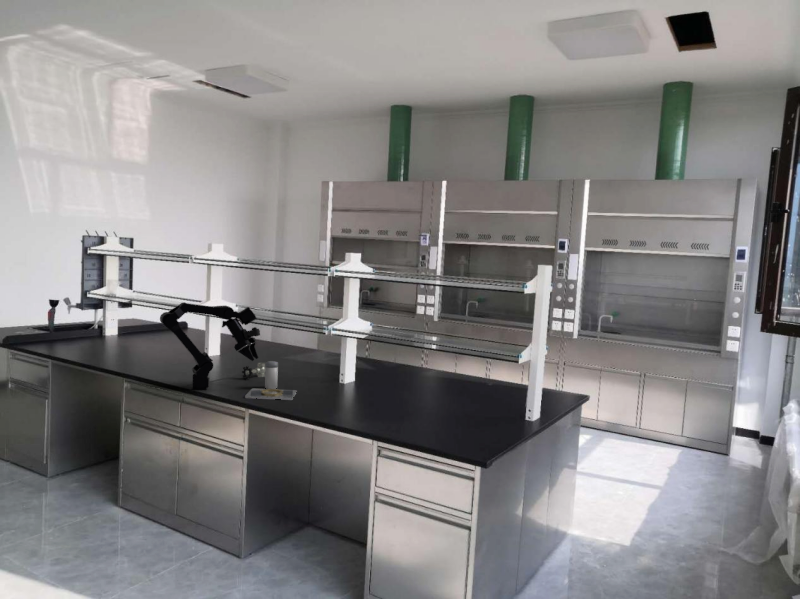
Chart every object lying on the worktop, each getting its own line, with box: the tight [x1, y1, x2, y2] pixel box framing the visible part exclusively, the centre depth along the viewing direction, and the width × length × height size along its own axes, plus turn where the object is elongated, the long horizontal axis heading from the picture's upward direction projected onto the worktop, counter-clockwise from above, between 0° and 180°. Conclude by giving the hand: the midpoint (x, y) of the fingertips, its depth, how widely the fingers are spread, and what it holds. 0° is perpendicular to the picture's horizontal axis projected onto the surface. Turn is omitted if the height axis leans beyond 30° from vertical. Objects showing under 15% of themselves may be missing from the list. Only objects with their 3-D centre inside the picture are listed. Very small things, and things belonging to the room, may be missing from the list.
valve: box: [241, 362, 266, 380], centre depth 307 cm, size 7×7×12 cm
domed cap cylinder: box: [264, 360, 279, 389], centre depth 287 cm, size 6×6×12 cm
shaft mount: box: [244, 387, 298, 401], centre depth 274 cm, size 20×14×2 cm
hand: (255, 359), depth 285 cm, fingers open, 9 cm apart
